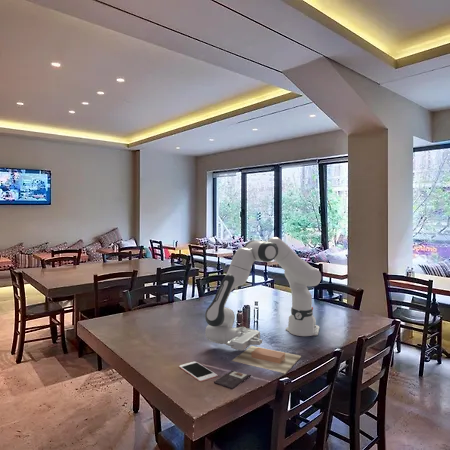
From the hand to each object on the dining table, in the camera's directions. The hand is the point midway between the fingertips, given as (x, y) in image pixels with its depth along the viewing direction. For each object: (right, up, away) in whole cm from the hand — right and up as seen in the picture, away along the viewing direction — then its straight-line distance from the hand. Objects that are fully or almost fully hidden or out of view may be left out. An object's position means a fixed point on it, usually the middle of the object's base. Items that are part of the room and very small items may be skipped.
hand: (261, 342), depth 172 cm
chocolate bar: (-13, -9, -20) cm, 26 cm away
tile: (-3, -5, +2) cm, 6 cm away
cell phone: (-29, -8, -14) cm, 33 cm away
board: (+3, -8, -1) cm, 8 cm away
